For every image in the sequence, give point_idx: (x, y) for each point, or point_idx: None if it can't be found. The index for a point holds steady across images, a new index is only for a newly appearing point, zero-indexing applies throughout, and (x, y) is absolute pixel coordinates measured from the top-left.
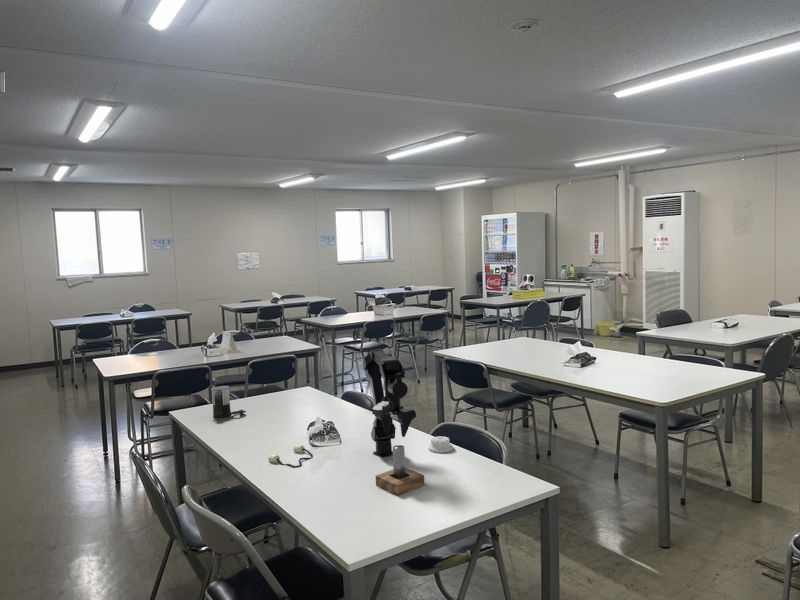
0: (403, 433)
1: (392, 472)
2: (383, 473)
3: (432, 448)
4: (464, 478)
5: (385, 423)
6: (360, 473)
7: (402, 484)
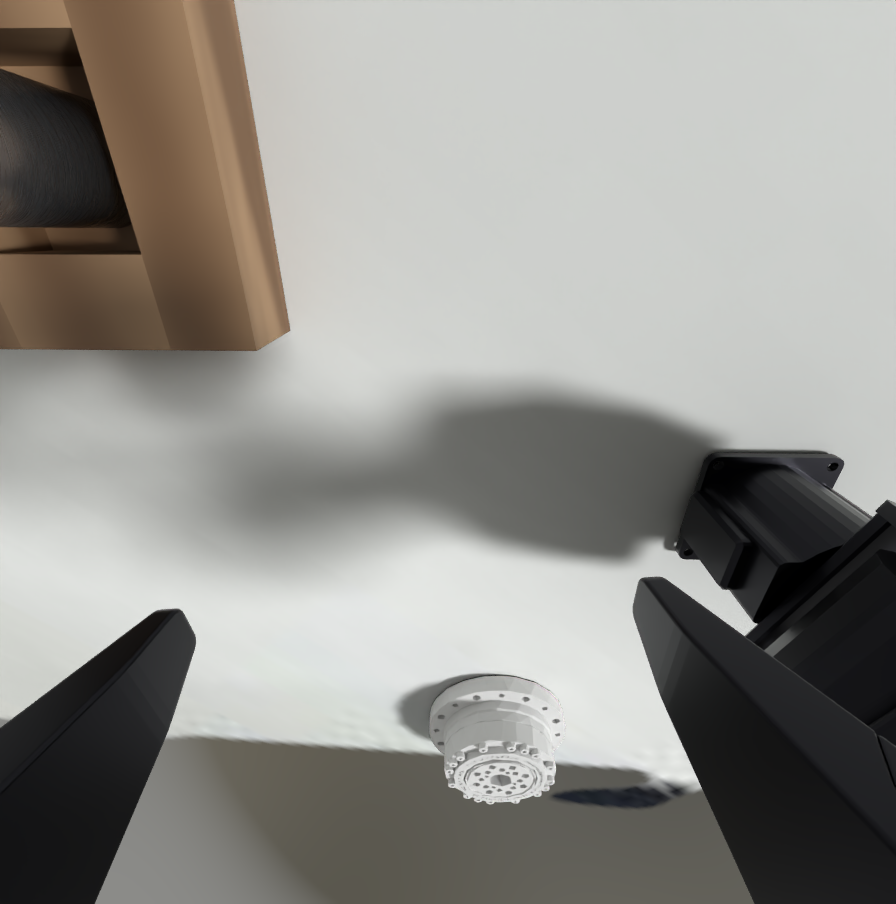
0: (85, 681)
1: (140, 144)
2: (163, 18)
3: (502, 697)
4: (37, 558)
5: (809, 821)
6: (626, 36)
7: None
